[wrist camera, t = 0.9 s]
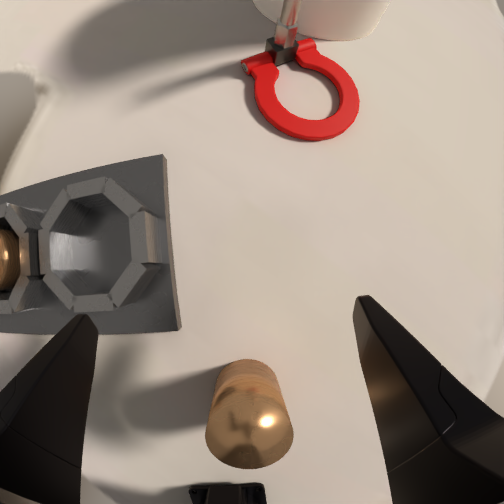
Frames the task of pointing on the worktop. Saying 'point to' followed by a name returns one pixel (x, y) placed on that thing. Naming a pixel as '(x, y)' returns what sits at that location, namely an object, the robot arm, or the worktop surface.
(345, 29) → the canister
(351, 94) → the tow hook
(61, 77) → the worktop surface
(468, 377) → the worktop surface
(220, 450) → the brass peg
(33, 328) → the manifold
